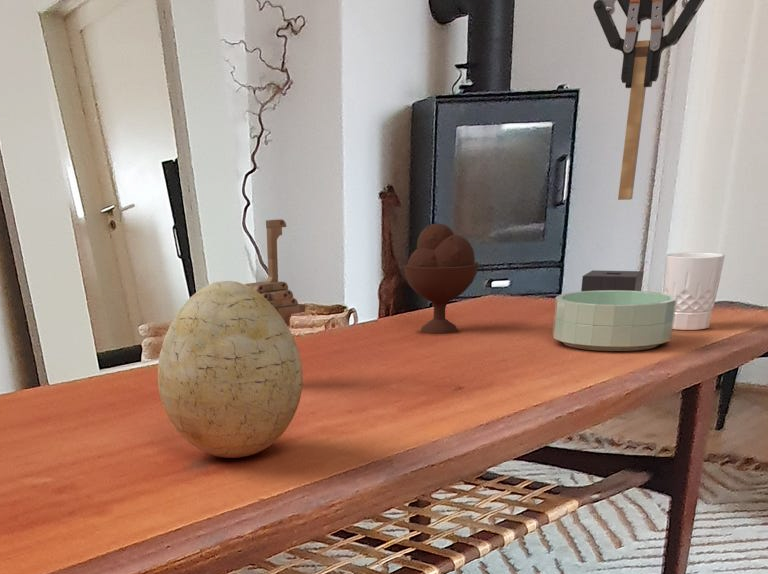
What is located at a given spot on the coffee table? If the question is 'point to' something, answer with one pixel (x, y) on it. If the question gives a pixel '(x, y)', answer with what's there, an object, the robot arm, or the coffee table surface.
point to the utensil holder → (612, 280)
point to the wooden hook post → (276, 277)
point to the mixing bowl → (614, 319)
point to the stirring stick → (634, 121)
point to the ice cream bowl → (440, 271)
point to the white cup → (693, 287)
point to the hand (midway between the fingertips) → (638, 86)
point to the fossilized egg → (229, 371)
